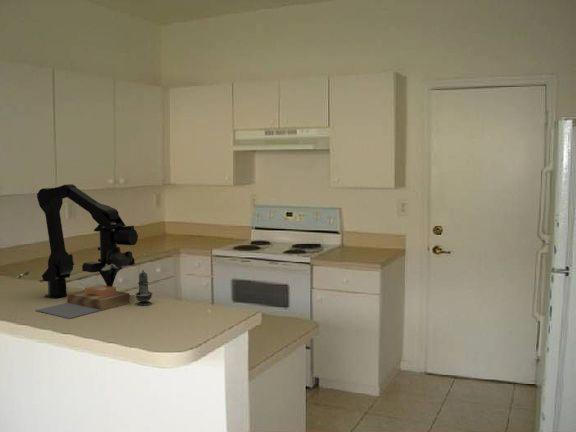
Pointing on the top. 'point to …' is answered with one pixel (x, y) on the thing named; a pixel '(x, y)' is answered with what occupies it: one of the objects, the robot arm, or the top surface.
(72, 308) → the mat
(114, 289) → the tile
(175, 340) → the top surface
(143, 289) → the dark grey chess piece
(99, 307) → the board
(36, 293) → the top surface
